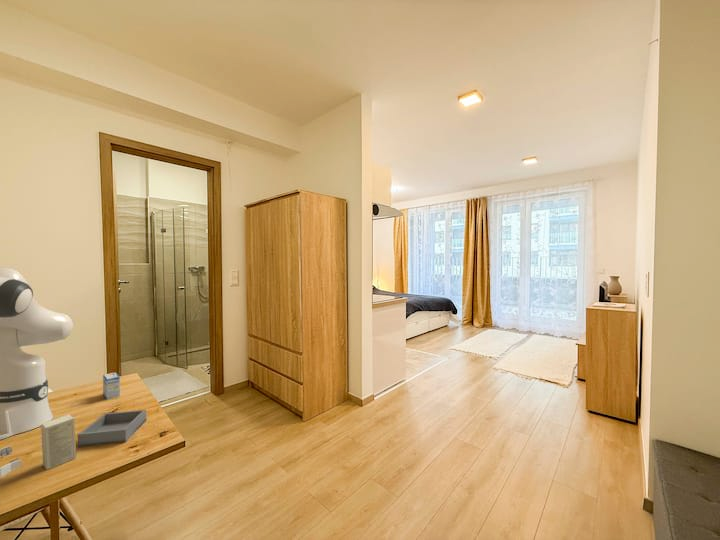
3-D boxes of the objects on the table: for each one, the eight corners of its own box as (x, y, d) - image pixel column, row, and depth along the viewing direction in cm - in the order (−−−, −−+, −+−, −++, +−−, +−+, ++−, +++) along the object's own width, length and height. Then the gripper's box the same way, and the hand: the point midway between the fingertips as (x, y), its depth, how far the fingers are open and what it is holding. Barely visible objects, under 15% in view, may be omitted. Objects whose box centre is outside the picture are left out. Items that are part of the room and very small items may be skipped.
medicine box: (102, 394, 127) (102, 374, 126) (116, 391, 130) (115, 371, 130) (106, 400, 122) (106, 379, 121) (120, 396, 125) (120, 376, 125)
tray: (77, 447, 91) (77, 434, 91) (104, 424, 103) (104, 413, 103) (125, 442, 93) (125, 429, 93) (146, 420, 106) (146, 409, 106)
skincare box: (71, 452, 88) (70, 413, 88) (76, 458, 86) (75, 417, 85) (41, 465, 83) (40, 422, 82) (45, 471, 80) (44, 427, 80)
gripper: (-75, 496, 60) (26, 457, 72) (-83, 460, 70) (6, 432, 82) (-74, 526, 60) (27, 482, 72) (-82, 486, 71) (7, 453, 82)
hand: (16, 455), depth 77 cm, fingers open, 8 cm apart
